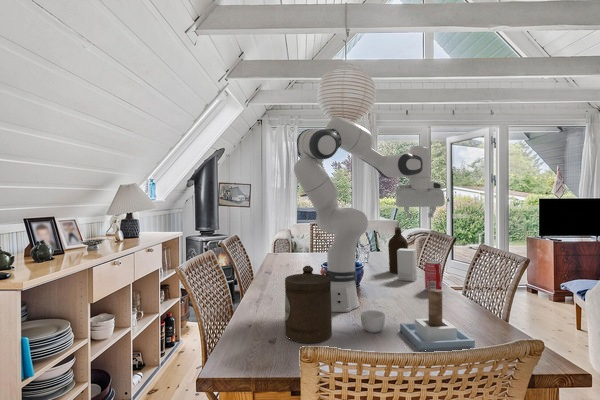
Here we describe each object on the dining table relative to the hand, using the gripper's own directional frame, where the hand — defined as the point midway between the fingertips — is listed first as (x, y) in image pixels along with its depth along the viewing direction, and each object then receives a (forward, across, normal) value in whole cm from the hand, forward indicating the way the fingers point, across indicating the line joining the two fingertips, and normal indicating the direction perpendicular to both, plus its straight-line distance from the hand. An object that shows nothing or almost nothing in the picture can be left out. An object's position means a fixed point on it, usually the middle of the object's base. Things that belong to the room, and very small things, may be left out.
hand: (420, 217), depth 158 cm
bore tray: (+34, -14, -43) cm, 57 cm away
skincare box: (+34, +7, +32) cm, 47 cm away
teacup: (+34, -30, -32) cm, 56 cm away
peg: (+33, -14, -43) cm, 56 cm away
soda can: (+34, +11, +11) cm, 38 cm away
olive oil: (+34, +9, +50) cm, 61 cm away
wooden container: (+34, -52, -34) cm, 71 cm away
